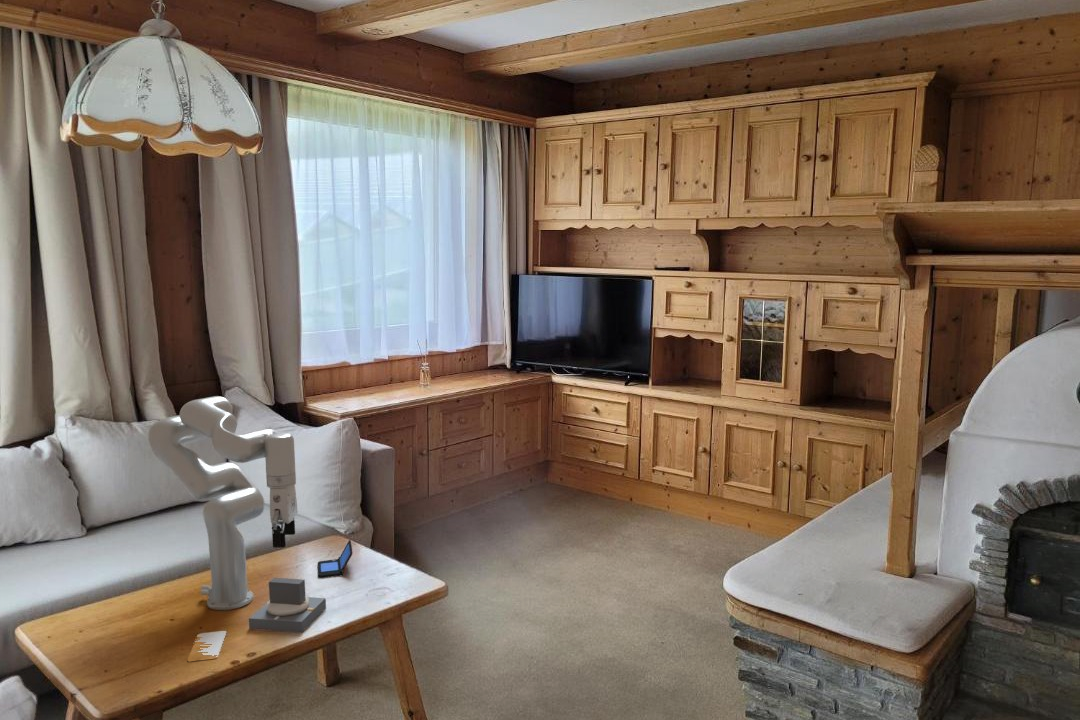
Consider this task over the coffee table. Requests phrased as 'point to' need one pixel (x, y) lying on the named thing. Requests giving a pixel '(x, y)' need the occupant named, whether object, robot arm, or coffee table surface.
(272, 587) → the dial
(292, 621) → the control plate
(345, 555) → the handheld game console
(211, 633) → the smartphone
